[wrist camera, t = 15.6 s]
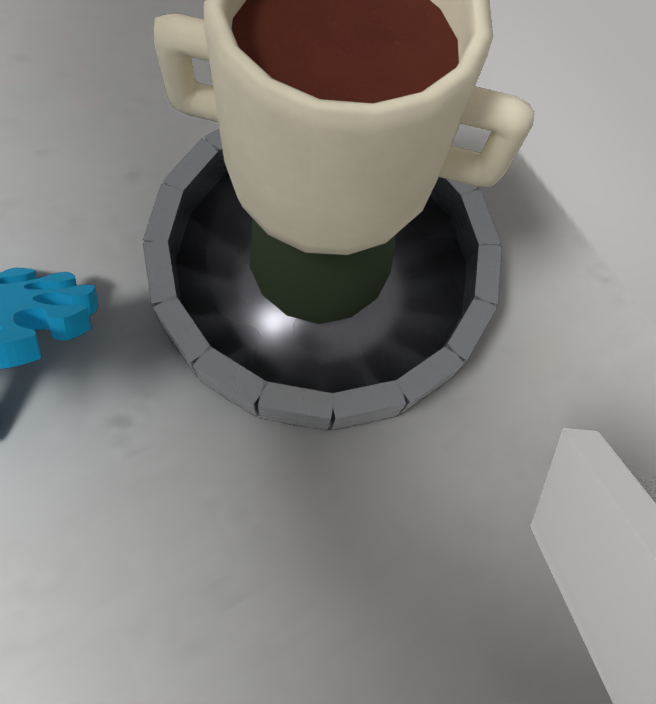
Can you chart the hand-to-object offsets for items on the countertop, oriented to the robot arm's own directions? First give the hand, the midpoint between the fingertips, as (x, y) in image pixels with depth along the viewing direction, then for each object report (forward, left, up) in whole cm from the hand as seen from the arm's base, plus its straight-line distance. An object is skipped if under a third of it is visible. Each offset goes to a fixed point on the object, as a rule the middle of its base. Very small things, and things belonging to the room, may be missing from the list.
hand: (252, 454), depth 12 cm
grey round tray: (-7, +8, -11) cm, 15 cm away
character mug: (-7, +8, -11) cm, 15 cm away
